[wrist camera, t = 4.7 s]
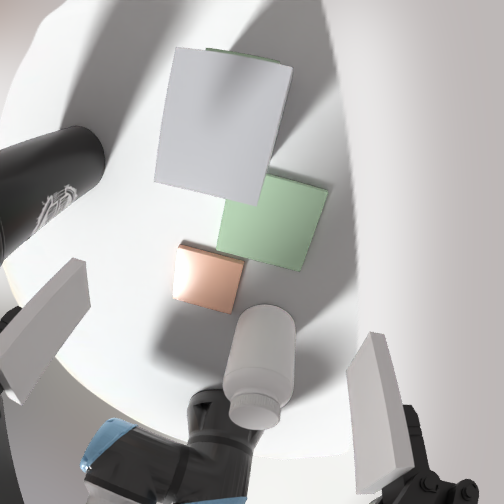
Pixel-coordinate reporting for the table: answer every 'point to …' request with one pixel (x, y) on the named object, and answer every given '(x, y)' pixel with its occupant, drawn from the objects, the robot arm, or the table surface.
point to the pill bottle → (260, 367)
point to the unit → (221, 122)
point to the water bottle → (44, 181)
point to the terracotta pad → (206, 279)
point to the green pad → (273, 223)
